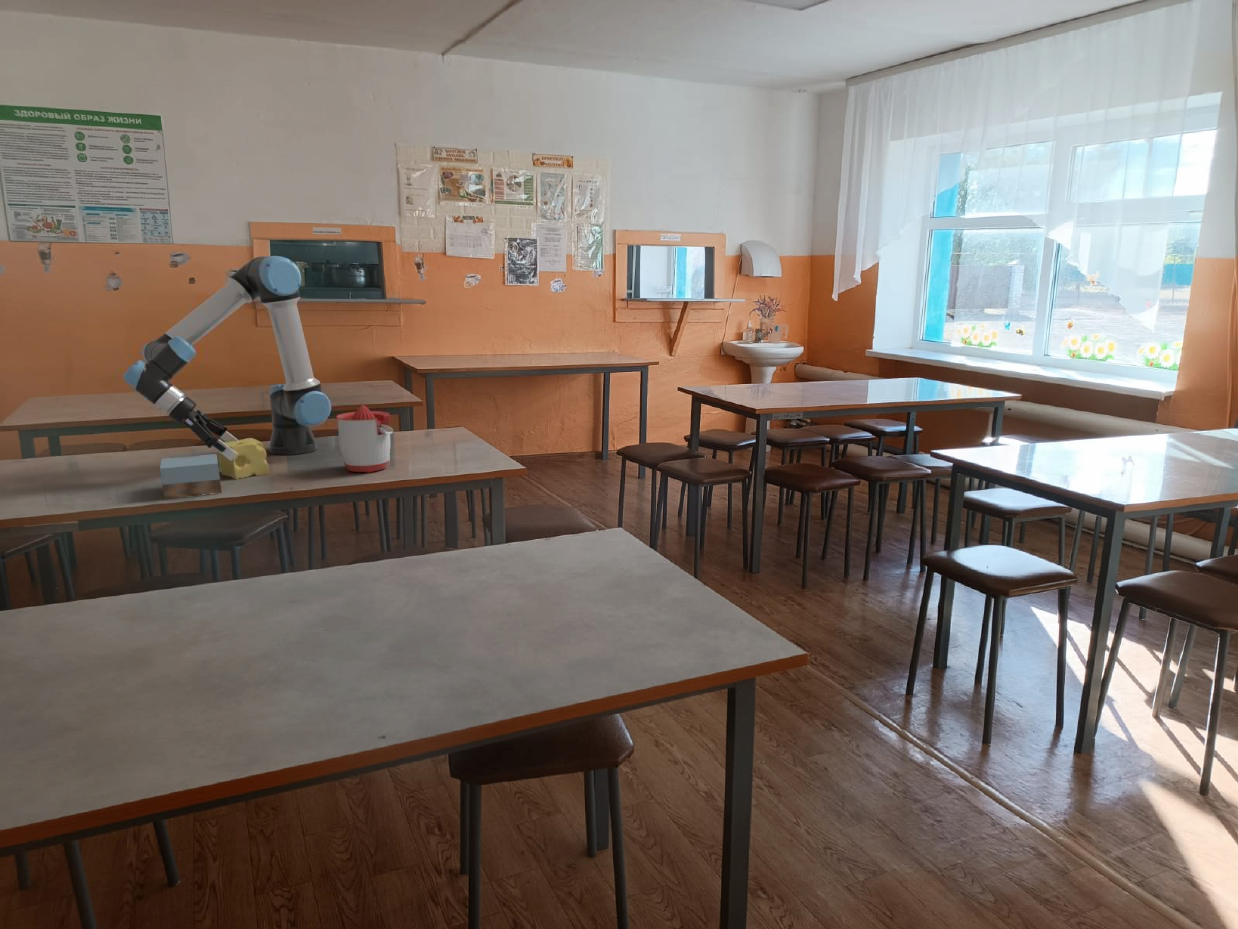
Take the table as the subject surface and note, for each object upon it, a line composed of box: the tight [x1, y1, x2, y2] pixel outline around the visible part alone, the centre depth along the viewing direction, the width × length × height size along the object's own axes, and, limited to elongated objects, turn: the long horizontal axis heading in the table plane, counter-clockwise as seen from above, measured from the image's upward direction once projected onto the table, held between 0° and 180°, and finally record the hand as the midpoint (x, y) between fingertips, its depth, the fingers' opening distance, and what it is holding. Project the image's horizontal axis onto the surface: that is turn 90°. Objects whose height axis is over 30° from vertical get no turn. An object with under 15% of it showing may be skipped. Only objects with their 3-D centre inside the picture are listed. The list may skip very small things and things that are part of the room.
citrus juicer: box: [336, 404, 394, 474], centre depth 260 cm, size 16×17×20 cm
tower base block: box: [162, 475, 223, 501], centre depth 236 cm, size 14×14×4 cm
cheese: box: [217, 437, 270, 480], centre depth 255 cm, size 10×11×10 cm
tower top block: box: [159, 453, 221, 486], centre depth 235 cm, size 14×14×4 cm
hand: (237, 452), depth 253 cm, fingers open, 13 cm apart
